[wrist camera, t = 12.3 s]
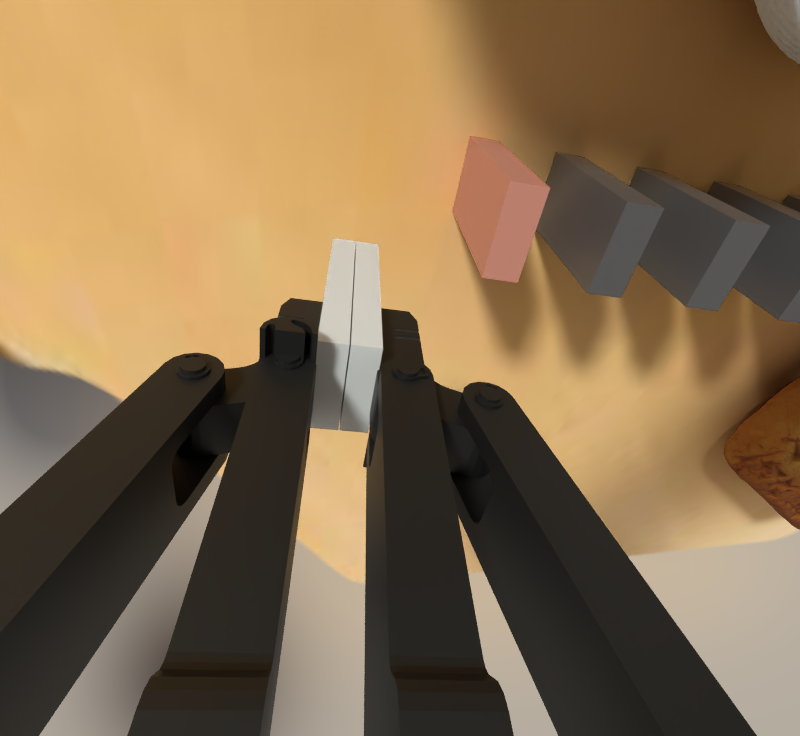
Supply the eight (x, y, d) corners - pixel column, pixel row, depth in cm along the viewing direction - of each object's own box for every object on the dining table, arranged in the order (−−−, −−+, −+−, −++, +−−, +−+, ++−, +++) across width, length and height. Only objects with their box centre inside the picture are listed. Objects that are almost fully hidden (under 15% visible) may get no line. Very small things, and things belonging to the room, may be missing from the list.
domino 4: (714, 181, 34) (837, 237, 25) (739, 185, 34) (869, 243, 25) (679, 247, 37) (778, 319, 28) (702, 251, 37) (807, 323, 28)
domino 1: (470, 136, 31) (510, 180, 23) (499, 141, 32) (550, 187, 23) (452, 211, 34) (482, 277, 25) (479, 215, 35) (517, 282, 26)
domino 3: (637, 167, 33) (736, 220, 24) (663, 171, 33) (770, 225, 25) (607, 236, 36) (685, 306, 27) (631, 240, 36) (717, 311, 27)
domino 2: (556, 152, 32) (627, 201, 23) (583, 157, 33) (664, 208, 24) (531, 224, 35) (587, 293, 26) (557, 228, 35) (620, 297, 27)
